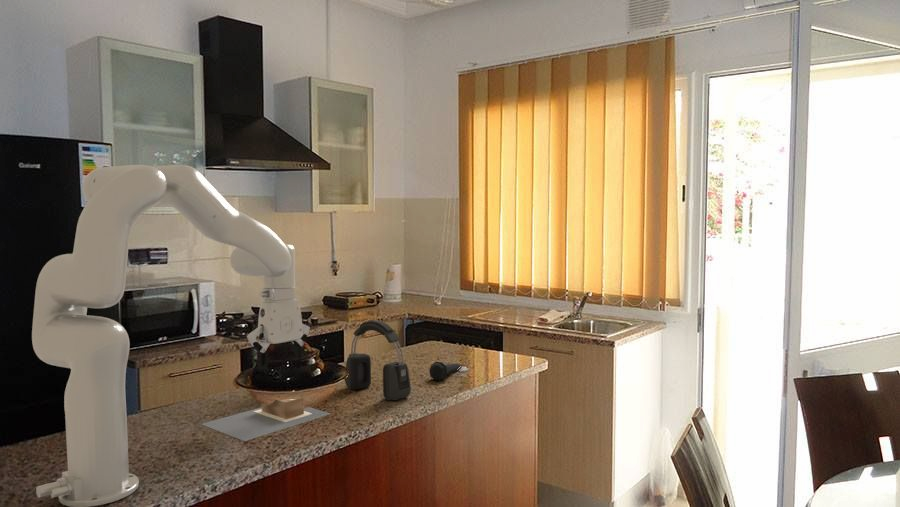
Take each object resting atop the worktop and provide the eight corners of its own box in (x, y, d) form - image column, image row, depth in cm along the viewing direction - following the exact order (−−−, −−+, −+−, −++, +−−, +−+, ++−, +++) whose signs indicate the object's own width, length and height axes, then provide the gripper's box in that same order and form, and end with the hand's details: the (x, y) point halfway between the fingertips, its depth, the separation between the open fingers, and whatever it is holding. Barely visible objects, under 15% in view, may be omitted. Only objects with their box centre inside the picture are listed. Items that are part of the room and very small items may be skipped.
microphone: (455, 376, 207) (428, 384, 189) (451, 358, 208) (424, 364, 190) (471, 372, 205) (445, 380, 187) (466, 355, 206) (440, 360, 188)
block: (261, 411, 160) (261, 394, 160) (278, 406, 164) (278, 390, 164) (286, 419, 154) (286, 402, 153) (303, 413, 157) (303, 397, 157)
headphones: (342, 388, 183) (341, 318, 182) (359, 383, 188) (358, 315, 186) (396, 403, 168) (395, 327, 167) (413, 398, 173) (412, 323, 171)
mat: (244, 443, 139) (244, 440, 139) (200, 426, 151) (200, 423, 151) (331, 416, 158) (331, 413, 158) (286, 402, 169) (286, 400, 169)
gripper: (257, 299, 148) (258, 373, 148) (317, 293, 161) (318, 361, 162) (238, 296, 153) (239, 368, 153) (299, 291, 166) (299, 357, 167)
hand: (279, 365), depth 158 cm, fingers open, 9 cm apart
